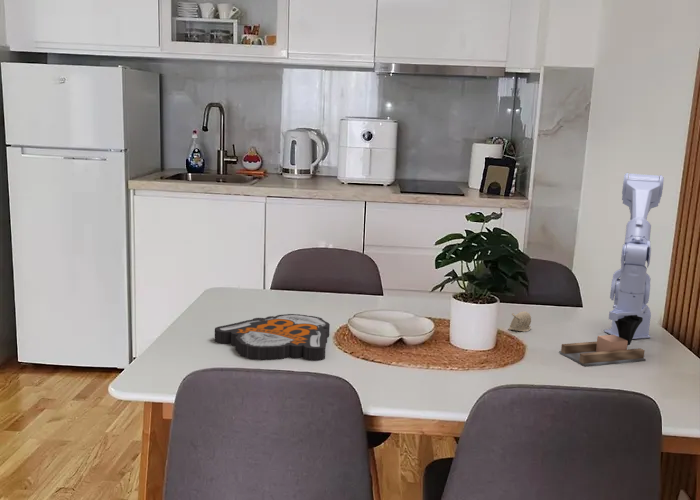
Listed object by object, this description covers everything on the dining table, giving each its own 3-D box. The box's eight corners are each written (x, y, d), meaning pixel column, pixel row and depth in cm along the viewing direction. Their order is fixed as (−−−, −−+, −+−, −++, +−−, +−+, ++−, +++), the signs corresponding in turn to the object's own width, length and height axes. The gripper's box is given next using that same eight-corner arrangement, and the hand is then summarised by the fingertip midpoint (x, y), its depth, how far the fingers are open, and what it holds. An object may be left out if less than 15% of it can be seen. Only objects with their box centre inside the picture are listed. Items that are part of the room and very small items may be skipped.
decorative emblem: (305, 372, 157) (361, 337, 184) (306, 358, 156) (361, 324, 183) (196, 349, 169) (263, 319, 196) (196, 335, 168) (263, 307, 195)
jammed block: (612, 349, 180) (613, 334, 179) (625, 356, 175) (627, 340, 174) (595, 351, 178) (597, 335, 177) (609, 357, 173) (611, 342, 173)
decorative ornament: (535, 329, 196) (536, 311, 195) (515, 334, 191) (516, 315, 190) (523, 326, 200) (525, 307, 199) (503, 330, 195) (505, 311, 194)
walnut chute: (617, 348, 183) (618, 338, 183) (645, 360, 174) (646, 351, 174) (559, 352, 177) (560, 343, 177) (584, 366, 168) (586, 356, 167)
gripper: (632, 284, 182) (625, 335, 185) (600, 291, 173) (594, 344, 176) (658, 290, 177) (651, 342, 179) (626, 297, 168) (620, 352, 171)
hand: (624, 344), depth 177 cm, fingers closed
